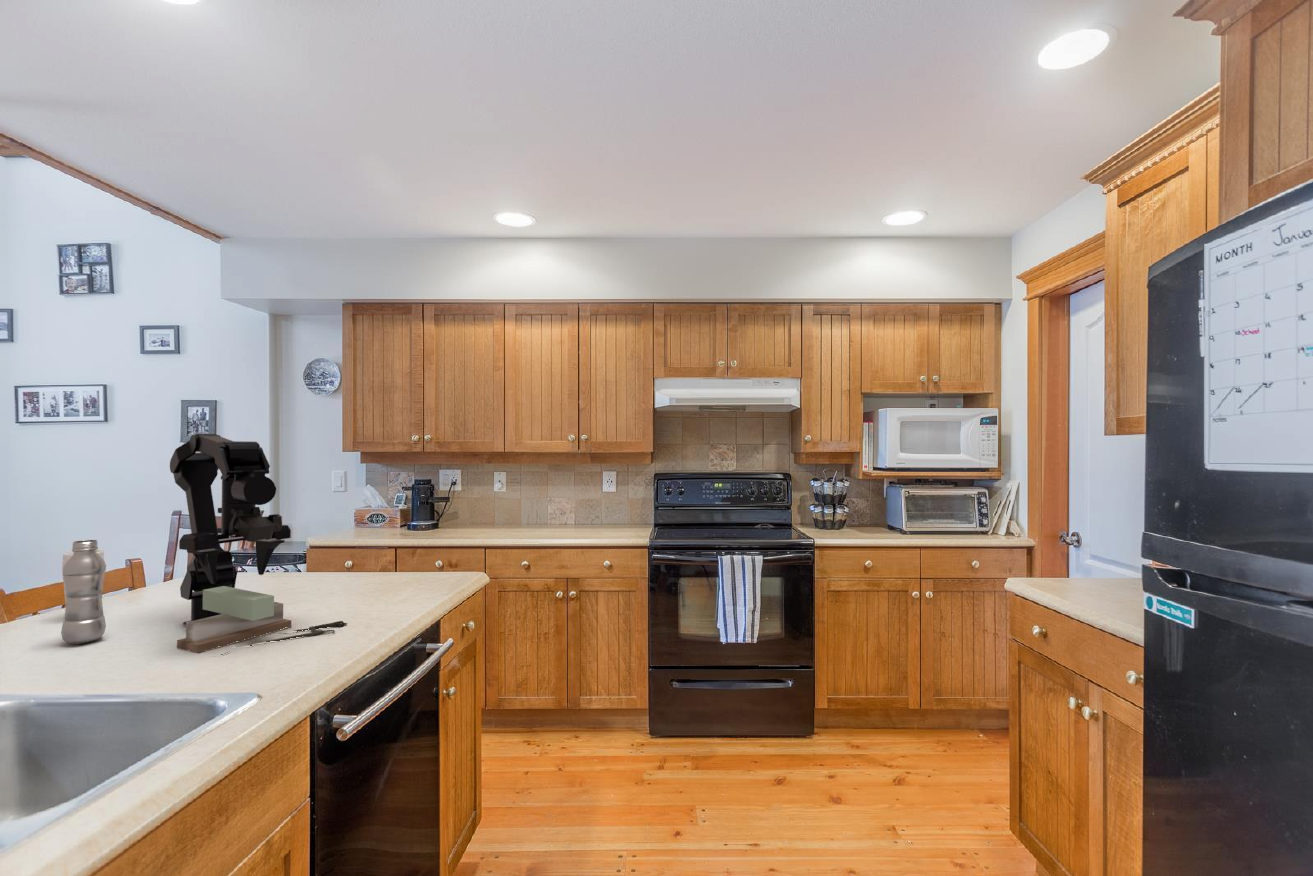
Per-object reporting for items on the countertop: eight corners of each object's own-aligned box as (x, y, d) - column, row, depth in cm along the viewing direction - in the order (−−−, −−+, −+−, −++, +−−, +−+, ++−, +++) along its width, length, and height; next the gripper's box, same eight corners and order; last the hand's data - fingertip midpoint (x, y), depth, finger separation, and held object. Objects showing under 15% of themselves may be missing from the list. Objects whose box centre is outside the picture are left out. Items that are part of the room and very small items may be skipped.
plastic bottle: (67, 650, 115) (68, 545, 115) (55, 643, 118) (57, 541, 118) (111, 640, 120) (112, 540, 120) (99, 635, 124) (100, 537, 124)
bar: (202, 609, 125) (202, 589, 125) (223, 604, 129) (223, 586, 129) (252, 620, 117) (252, 600, 117) (273, 615, 120) (274, 595, 120)
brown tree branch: (346, 625, 132) (346, 619, 132) (351, 638, 123) (351, 631, 123) (210, 645, 119) (210, 637, 119) (204, 660, 110) (204, 652, 110)
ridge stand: (176, 647, 116) (177, 621, 116) (270, 623, 132) (270, 600, 132) (198, 653, 113) (198, 626, 113) (291, 627, 129) (291, 603, 129)
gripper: (212, 508, 111) (211, 593, 111) (308, 500, 128) (307, 573, 128) (178, 505, 116) (177, 587, 116) (274, 498, 133) (274, 569, 132)
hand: (238, 579), depth 123 cm, fingers open, 9 cm apart
